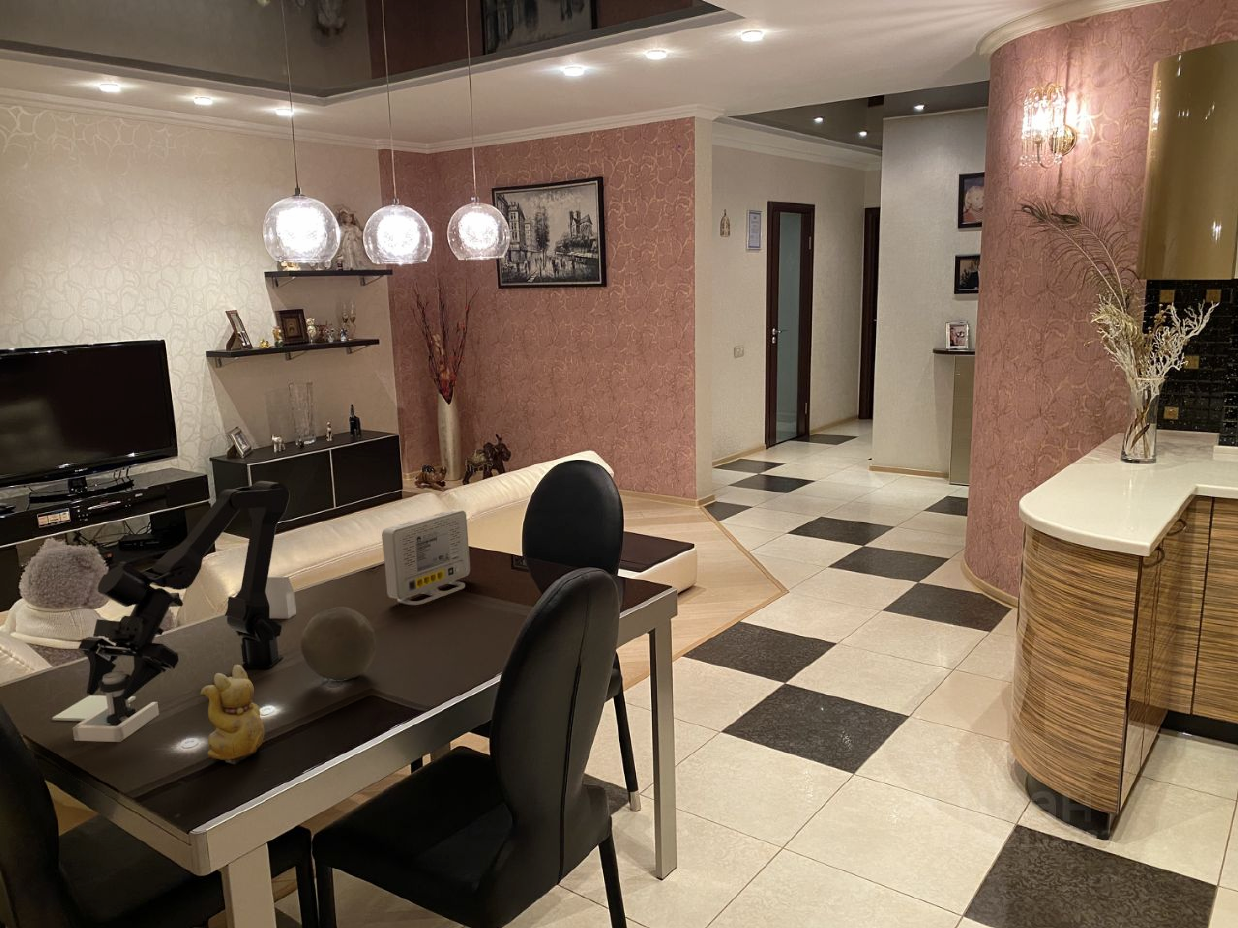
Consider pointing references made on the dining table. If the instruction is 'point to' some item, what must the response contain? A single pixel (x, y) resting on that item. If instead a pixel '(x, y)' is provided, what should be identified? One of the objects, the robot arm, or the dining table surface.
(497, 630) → the dining table surface
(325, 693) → the dining table surface
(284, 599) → the white faceted block
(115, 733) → the white u-shaped bracket
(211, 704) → the decorative figurine
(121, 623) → the robot arm
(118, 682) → the push button
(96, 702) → the mat
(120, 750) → the dining table surface
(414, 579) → the network device
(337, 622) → the cantaloupe
